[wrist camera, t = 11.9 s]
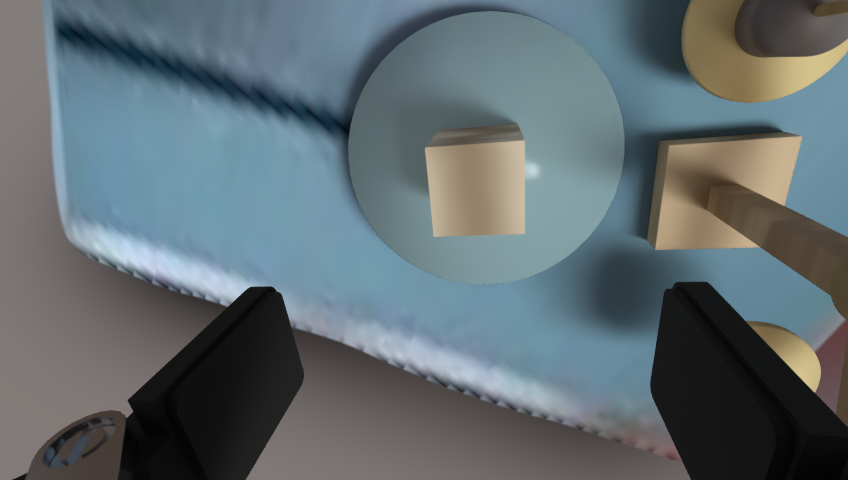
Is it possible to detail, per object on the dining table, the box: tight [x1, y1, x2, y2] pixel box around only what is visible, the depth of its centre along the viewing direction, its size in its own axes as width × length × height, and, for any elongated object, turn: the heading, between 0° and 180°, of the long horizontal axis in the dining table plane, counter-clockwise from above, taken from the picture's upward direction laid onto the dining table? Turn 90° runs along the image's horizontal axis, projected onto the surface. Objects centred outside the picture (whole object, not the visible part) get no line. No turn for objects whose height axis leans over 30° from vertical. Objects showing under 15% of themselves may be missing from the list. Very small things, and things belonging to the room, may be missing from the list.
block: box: [425, 124, 525, 237], centre depth 24 cm, size 5×5×6 cm
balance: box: [647, 0, 848, 427], centre depth 19 cm, size 8×28×16 cm, turn 6°
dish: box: [348, 11, 625, 285], centre depth 27 cm, size 18×18×2 cm
